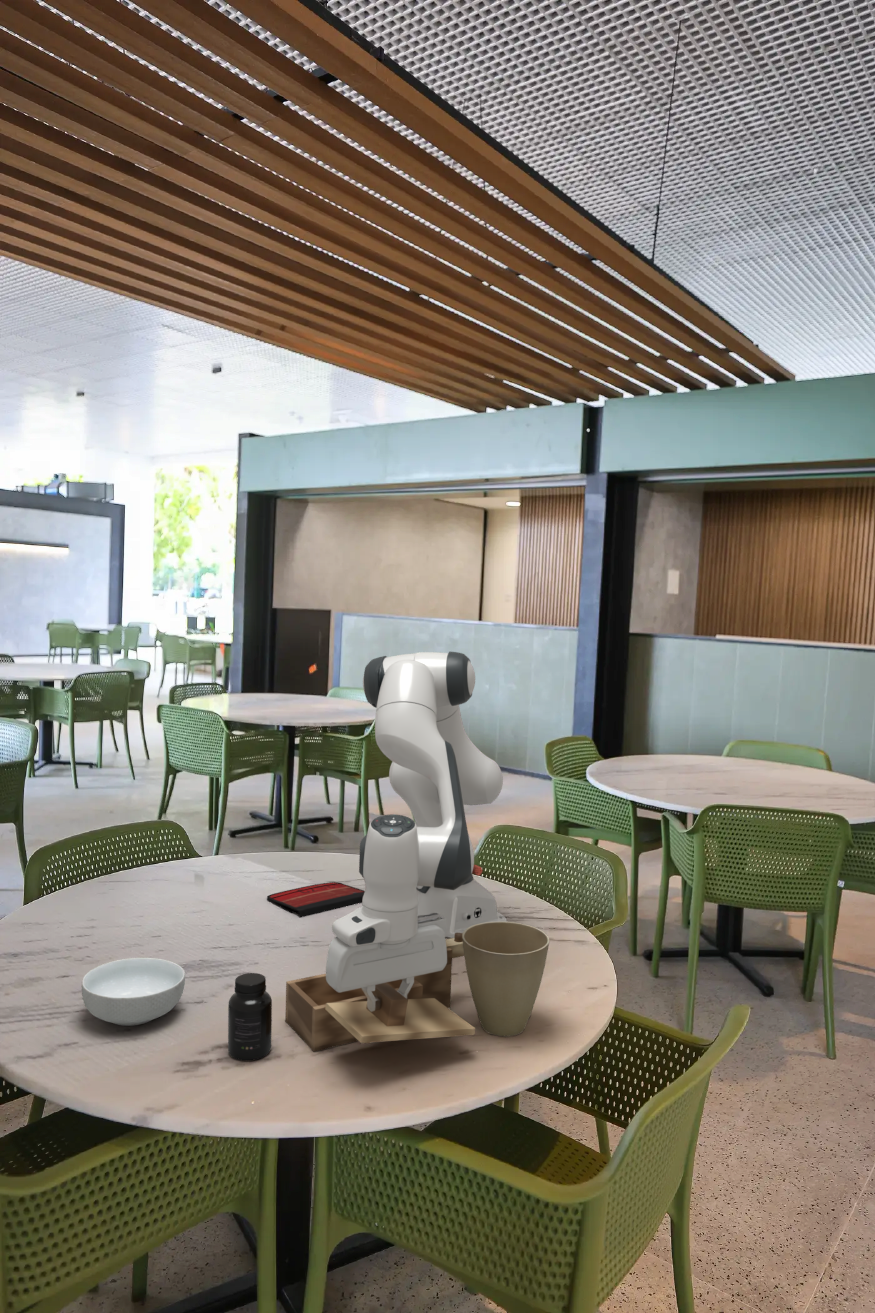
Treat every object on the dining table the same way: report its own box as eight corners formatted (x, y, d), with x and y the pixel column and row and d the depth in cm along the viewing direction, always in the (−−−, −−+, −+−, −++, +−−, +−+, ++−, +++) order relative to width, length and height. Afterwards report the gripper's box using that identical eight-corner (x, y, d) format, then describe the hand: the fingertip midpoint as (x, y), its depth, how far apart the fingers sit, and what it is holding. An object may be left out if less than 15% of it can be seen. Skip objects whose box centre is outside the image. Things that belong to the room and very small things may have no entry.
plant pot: (476, 1001, 169) (479, 916, 168) (555, 1018, 164) (559, 930, 162) (445, 1036, 156) (449, 943, 154) (530, 1056, 150) (534, 960, 149)
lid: (432, 1011, 159) (438, 975, 159) (473, 1042, 148) (479, 1003, 148) (323, 1016, 148) (330, 978, 148) (359, 1051, 137) (367, 1009, 137)
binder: (374, 892, 223) (299, 910, 209) (374, 902, 223) (299, 920, 209) (335, 878, 235) (263, 894, 221) (335, 887, 235) (263, 904, 221)
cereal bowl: (125, 1049, 148) (126, 1006, 147) (59, 1021, 156) (60, 980, 156) (205, 1010, 162) (205, 971, 161) (140, 986, 171) (141, 949, 170)
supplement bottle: (230, 1041, 151) (232, 969, 150) (273, 1041, 152) (274, 969, 151) (224, 1062, 144) (226, 987, 144) (269, 1062, 145) (270, 987, 144)
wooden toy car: (459, 949, 171) (460, 930, 171) (468, 955, 169) (469, 935, 169) (417, 958, 167) (418, 938, 166) (426, 964, 164) (427, 944, 164)
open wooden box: (425, 989, 174) (427, 933, 173) (460, 1015, 163) (462, 956, 163) (285, 1021, 159) (286, 960, 158) (314, 1052, 149) (315, 987, 148)
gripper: (435, 905, 154) (432, 986, 155) (322, 924, 143) (320, 1011, 144) (456, 917, 148) (453, 1001, 149) (340, 938, 138) (337, 1028, 138)
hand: (387, 1006), depth 146 cm, fingers closed on lid, 3 cm apart
